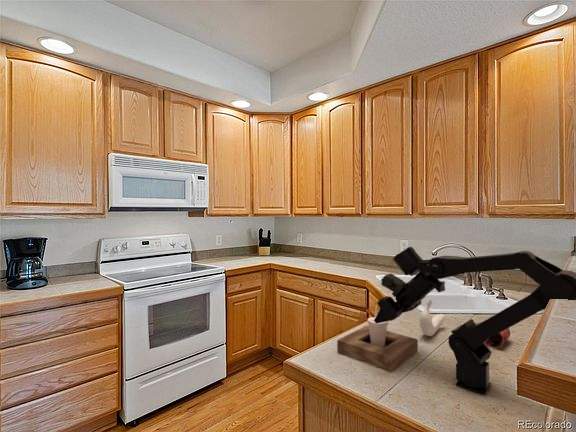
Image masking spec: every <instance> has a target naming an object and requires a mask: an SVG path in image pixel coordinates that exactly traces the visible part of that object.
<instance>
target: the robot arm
mask: <svg viewBox="0 0 576 432" xmlns="http://www.w3.org/2000/svg"><path fill="white" fill-rule="evenodd" d="M392 259H393V260H392V261H393V262H394V263H395V264H396V266H397V267H398V268H399V269H400V270H401V272H402V273H403V274H404V275H405V276H408V275H409V276H410V277H412V278H411V279H410V280H409V281H408V282H405V281H404V280H403V279H401V278H400V277H398V276H396V275H395V274H393V273H388V274H385V275H384V276H383V277H382V278H381V280H380V282H381V284H380V285H381V286H382V287H384V288H386V289H388V290H389V291H390V292H391V291H392V293H391V295H392V296H389V295H386V296H384V297H381V298H380V299H379V300H378V301H377V306H378V307H379V311H377V316H376V318H375V319H374V321H375V323H381V322H386V321H388V322H390V321H391V322H392V321H395V320H397V318H399V317H400V316H401V315H402V314H403V313H407V312H411V311H413V310H415V309H417V308H418V307H419V306H421V305H422V300H424V299H425V298H426V297H427V295H428V294H429V293H431V292H432V291H433V290H434V289H435V290H436V291H437V292H438V293H441V292H445V291H446V287H445V284H446V282H445V281H443V280H442V279H446V278H451V277H454V276H458V275H462V274H466V273H480V272H493V271H507V270H520V271H521V272H523V273H524V274H525V275H527V276H528V277H529V278H530V279H531V280H533V281H534V282H535V283H536V284H538V285H539V286H537V287H536V288H535V290H533V291H532V292H531V293H530V294H528V295H526V296H525V297H524V298H522V299H520V300H518V301H516V302H515V303H513V304H511V305H509V306H508V307H505V308H504V309H502V310H501V311H499V312H497V313H495V314H494V315H491V316H490V317H488V318H486V319H485V320H483V321H481V322H477V323H476V322H475V321H474V319H473V318H471V319H469V320H468V321H466V322H464V323H462V324H461V325H459V326H457V327H455V328H454V329H453V330H450V332H451V333H452V334H450V335H449V336H448V341H447V342H448V345H449V348H450V350H451V351H452V352H453V354H454V358H455V360H456V364H455V379H456V382H455V386H458V387H460V388H463V389H466V390H470V391H472V392H475V393H477V394H481V395H484V396H485V395H486V394H487V393H488V392H489V390H490V388H491V387H492V383H491V382H490V362H488V360H489V359H490V357H491V355H492V353H493V352H492V351H491V349H490V348H488V347H487V346H486V345H485V344H484V343H485V342H486V341H487V340H488V339H489V338H490V337H492V336H494V335H496V334H498V333H500V332H502V331H504V330H505V329H507V328H511V327H513V326H514V325H517V324H518V323H520V322H522V321H524V320H526V319H528V318H530V317H531V316H533V315H535V314H537V313H539V312H541V311H544V310H546V309H545V308H546V306H547V304H548V302H549V300H550V299H568V300H575V301H576V272H574V271H572V270H565V269H563V268H560V267H559V266H557V265H555V264H553V263H551V262H549V261H547V260H545V259H543V258H541V257H539V256H537V255H535V254H534V253H533V252H532V251H529V250H522V251H521V250H520V251H517V252H510V253H509V252H507V253H500V254H490V255H480V256H469V257H467V256H458V255H440V256H436V257H435V256H434V257H431V258H428V259H424V260H423V258H422V257H421V256H420V255H419V254H418V253H417V251H416V250H415V249H414V248H413V247H412V246H407V248H405V249H404V250H402V251H400V252H399V253H397V254H396V255H395V256H394V257H393V258H392ZM414 275H415V276H414ZM441 280H442V281H441ZM393 297H395V300H396V301H395V300H394V299H393Z"/></svg>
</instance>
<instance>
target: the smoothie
mask: <svg viewBox="0 0 576 432" xmlns="http://www.w3.org/2000/svg"><path fill="white" fill-rule="evenodd" d="M374 311H375V313H374V314H375V316H372V317H369V318H367V322H366V323H367V324H368V326H369V332H370V340H371V344H373V345H376V346H379V347H382V348H384V347H385V339H386V331H388V330H387V329H388V325H389V321H386V322H381V323H375V321H374V319H375V318H376V316H377V314H378V305H375V310H374Z"/></svg>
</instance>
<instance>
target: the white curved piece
mask: <svg viewBox="0 0 576 432" xmlns="http://www.w3.org/2000/svg"><path fill="white" fill-rule="evenodd" d="M425 303H426V304H425V307H424V309H423V310H421V312H420V315H419V326H420V327H419V328H420V330H421V333H423V334H424V335H425V336H428V337H432V336H434V335H435V334H436V332H437V331H438V330H439V328H440V327H441V326H442V325H443V323H444V321H445V317H446V316H445V315H444V314H442V313H440V314H436V315H434V316H432V315H431V313H430V307H431V306H432V305H433V302H432V298H429V299H427V300H426V302H425Z"/></svg>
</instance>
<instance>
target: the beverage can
mask: <svg viewBox="0 0 576 432" xmlns="http://www.w3.org/2000/svg"><path fill="white" fill-rule="evenodd" d="M509 328H510V327H509ZM509 328H507V329H505V330H504V331H502V332H500V333H498V334H496V335H494V336H492V337H490V338H489V339H488V340H487V341H486V342H485V343H484V344H485V345H486V346H487V347H488V348H489V349H494V350H497V349H500V348H502V347H503V345H504V344H505V343H506V342H507V341H508V340H509V338H510V336H511V330H510V329H509ZM496 340H498V341H500V342H499V343H498V344H497V345H496V346H495V348H493V347H492V348H491V346H492V345H493V344H494V343H495V341H496Z"/></svg>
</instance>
